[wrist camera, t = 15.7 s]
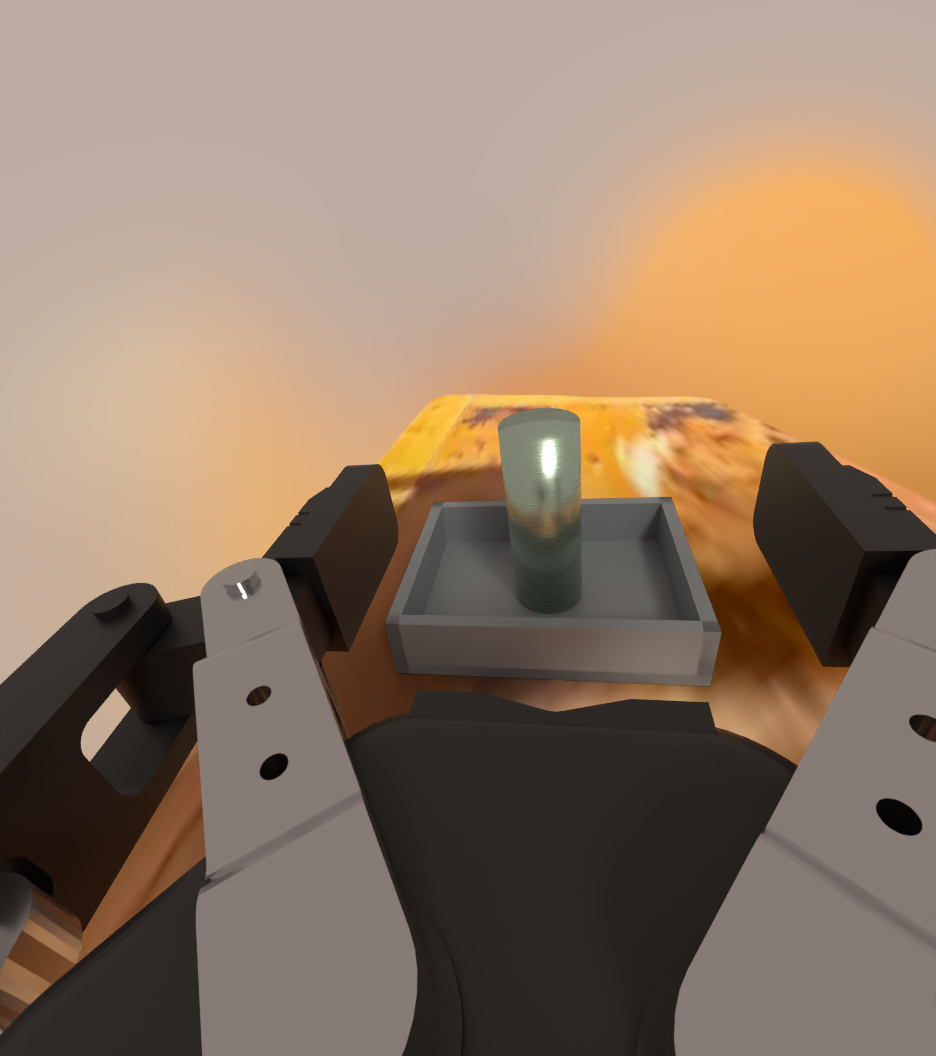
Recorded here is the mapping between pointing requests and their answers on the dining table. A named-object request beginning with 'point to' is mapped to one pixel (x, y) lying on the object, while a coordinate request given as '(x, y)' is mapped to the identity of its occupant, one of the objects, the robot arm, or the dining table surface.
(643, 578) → the tote
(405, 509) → the dining table surface
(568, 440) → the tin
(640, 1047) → the robot arm
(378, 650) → the dining table surface
